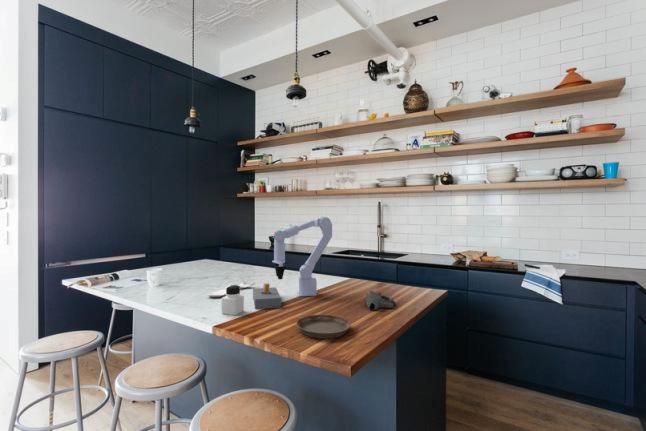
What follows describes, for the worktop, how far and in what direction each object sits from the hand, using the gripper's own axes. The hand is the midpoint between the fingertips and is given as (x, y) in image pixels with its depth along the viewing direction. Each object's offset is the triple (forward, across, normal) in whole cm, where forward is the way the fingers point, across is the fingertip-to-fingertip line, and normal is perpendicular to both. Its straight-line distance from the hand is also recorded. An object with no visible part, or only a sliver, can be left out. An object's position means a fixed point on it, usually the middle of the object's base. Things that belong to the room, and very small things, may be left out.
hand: (279, 277), depth 183 cm
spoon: (+10, -13, -25) cm, 30 cm away
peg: (+9, +12, -8) cm, 17 cm away
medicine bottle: (+10, +26, -24) cm, 37 cm away
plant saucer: (+10, +57, +10) cm, 59 cm away
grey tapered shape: (+10, +28, +46) cm, 55 cm away
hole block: (+9, +12, -8) cm, 17 cm away
